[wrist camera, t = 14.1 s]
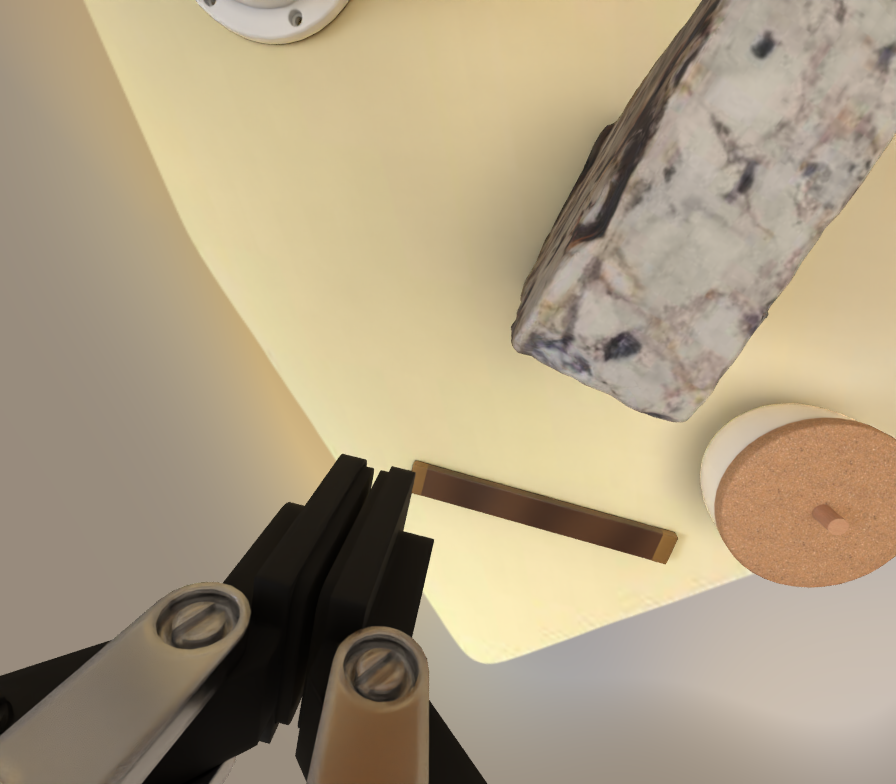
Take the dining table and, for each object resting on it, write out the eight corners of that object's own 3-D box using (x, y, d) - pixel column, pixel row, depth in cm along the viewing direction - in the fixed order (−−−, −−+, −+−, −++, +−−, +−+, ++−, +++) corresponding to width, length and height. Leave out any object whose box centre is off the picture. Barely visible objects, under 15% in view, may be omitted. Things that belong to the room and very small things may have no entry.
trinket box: (798, 534, 37) (889, 629, 28) (657, 498, 37) (701, 579, 28) (869, 404, 33) (998, 465, 24) (712, 366, 34) (782, 412, 25)
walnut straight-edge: (408, 486, 40) (406, 491, 39) (415, 459, 39) (413, 464, 38) (663, 558, 39) (666, 565, 38) (675, 532, 38) (678, 538, 37)
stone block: (601, 331, 34) (710, 452, 15) (508, 294, 34) (502, 367, 15) (702, 132, 30) (1028, -44, 11) (595, 89, 30) (736, -163, 11)
